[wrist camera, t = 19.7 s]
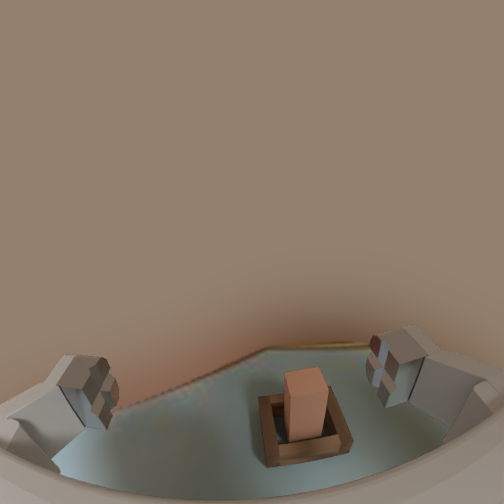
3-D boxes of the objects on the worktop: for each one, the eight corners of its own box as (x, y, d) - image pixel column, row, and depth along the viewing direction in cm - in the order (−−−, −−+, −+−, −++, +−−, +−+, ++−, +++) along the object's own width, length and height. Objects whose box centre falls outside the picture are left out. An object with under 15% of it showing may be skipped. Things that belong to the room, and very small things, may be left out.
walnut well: (328, 399, 35) (330, 385, 34) (348, 452, 26) (353, 440, 25) (259, 410, 35) (258, 396, 34) (267, 467, 25) (266, 456, 24)
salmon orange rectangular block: (313, 418, 32) (319, 366, 29) (320, 440, 28) (328, 390, 25) (284, 423, 32) (284, 371, 29) (288, 446, 28) (290, 396, 25)
